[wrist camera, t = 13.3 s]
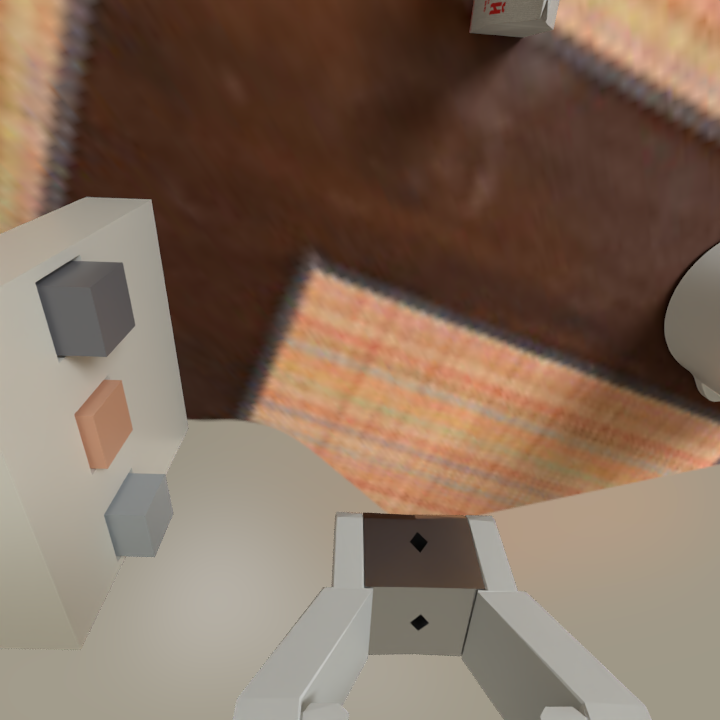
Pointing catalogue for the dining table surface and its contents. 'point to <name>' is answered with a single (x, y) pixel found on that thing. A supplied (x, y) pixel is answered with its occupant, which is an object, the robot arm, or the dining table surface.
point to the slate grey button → (139, 515)
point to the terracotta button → (104, 423)
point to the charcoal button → (86, 307)
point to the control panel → (58, 424)
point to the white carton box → (513, 17)
